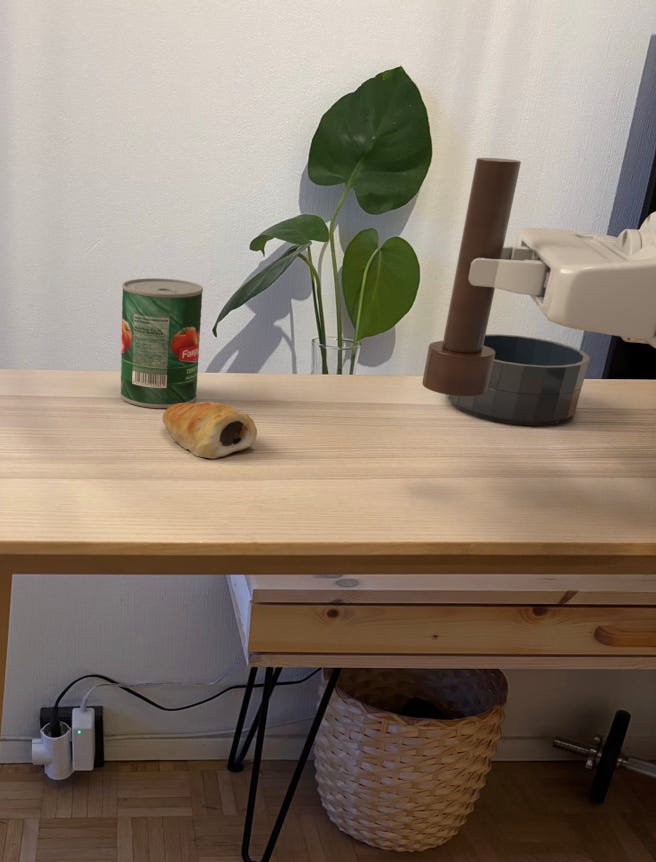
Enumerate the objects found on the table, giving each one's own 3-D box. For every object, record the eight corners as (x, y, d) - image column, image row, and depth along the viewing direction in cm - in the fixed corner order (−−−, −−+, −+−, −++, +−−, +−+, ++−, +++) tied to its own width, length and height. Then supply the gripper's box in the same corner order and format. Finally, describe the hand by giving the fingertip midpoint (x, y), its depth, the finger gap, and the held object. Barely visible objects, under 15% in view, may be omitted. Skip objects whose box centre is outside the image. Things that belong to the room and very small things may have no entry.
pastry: (143, 431, 89) (145, 391, 87) (200, 421, 92) (203, 382, 90) (205, 463, 82) (208, 419, 81) (264, 450, 86) (268, 408, 84)
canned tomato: (115, 386, 101) (117, 277, 95) (188, 386, 102) (194, 278, 97) (125, 409, 94) (127, 293, 89) (203, 408, 96) (210, 294, 90)
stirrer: (501, 392, 74) (551, 163, 66) (453, 399, 72) (500, 163, 64) (455, 375, 78) (497, 156, 70) (408, 382, 76) (447, 156, 67)
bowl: (601, 417, 99) (617, 359, 96) (512, 434, 93) (526, 372, 90) (504, 384, 109) (516, 330, 106) (418, 396, 103) (428, 340, 100)
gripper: (639, 214, 76) (462, 203, 77) (722, 254, 58) (491, 238, 60) (617, 297, 79) (447, 284, 81) (689, 358, 62) (471, 340, 63)
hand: (466, 265), depth 70 cm, fingers closed on stirrer, 3 cm apart
